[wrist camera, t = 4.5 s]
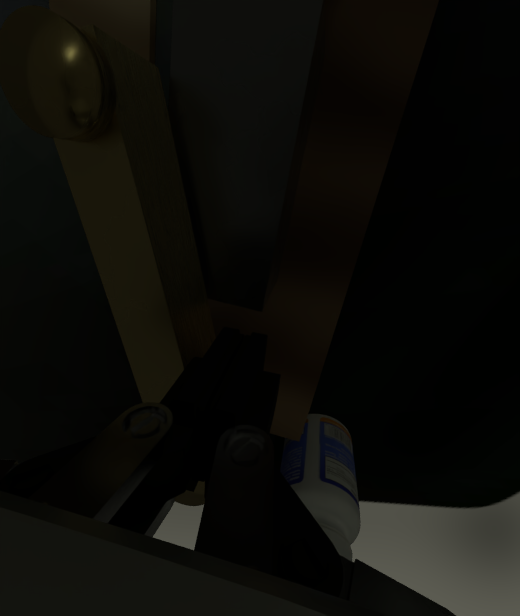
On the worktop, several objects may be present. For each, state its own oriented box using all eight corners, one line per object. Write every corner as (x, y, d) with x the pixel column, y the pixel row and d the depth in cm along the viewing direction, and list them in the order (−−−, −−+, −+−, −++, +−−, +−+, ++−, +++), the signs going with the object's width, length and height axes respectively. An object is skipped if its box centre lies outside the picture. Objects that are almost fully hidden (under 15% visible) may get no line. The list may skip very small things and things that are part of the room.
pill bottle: (292, 460, 27) (276, 594, 18) (280, 412, 25) (256, 535, 17) (355, 460, 26) (370, 606, 17) (348, 409, 24) (360, 543, 15)
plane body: (224, -62, 15) (101, -353, 7) (436, -39, 14) (596, -354, 6) (186, 370, 26) (121, 459, 18) (303, 402, 25) (291, 514, 16)
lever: (260, 381, 19) (215, 516, 12) (224, 381, 20) (159, 509, 12) (213, 96, 14) (70, -10, 6) (166, 107, 14) (-22, 22, 7)
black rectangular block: (221, 38, 13) (173, -25, 9) (325, 54, 13) (324, -6, 9) (200, 261, 17) (161, 287, 13) (277, 279, 17) (262, 312, 13)
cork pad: (46, -139, 15) (35, -151, 15) (159, -129, 14) (152, -141, 14) (67, 136, 20) (60, 134, 19) (152, 152, 19) (147, 151, 19)
